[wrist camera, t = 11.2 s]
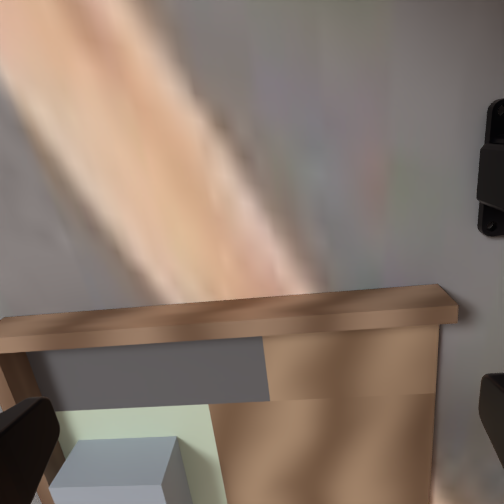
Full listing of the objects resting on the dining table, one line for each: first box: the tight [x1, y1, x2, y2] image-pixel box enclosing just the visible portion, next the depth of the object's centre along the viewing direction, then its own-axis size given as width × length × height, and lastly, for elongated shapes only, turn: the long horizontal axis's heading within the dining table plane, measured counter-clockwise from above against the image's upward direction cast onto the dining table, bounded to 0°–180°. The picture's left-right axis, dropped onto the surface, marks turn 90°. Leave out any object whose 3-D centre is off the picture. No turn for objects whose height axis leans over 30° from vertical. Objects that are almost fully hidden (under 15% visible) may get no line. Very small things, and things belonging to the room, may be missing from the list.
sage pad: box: [55, 404, 227, 504], centre depth 26 cm, size 11×12×1 cm
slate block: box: [49, 436, 193, 504], centre depth 24 cm, size 7×7×4 cm
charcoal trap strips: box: [26, 336, 270, 412], centre depth 26 cm, size 15×24×1 cm, turn 7°
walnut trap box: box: [0, 284, 459, 504], centre depth 25 cm, size 26×26×2 cm
